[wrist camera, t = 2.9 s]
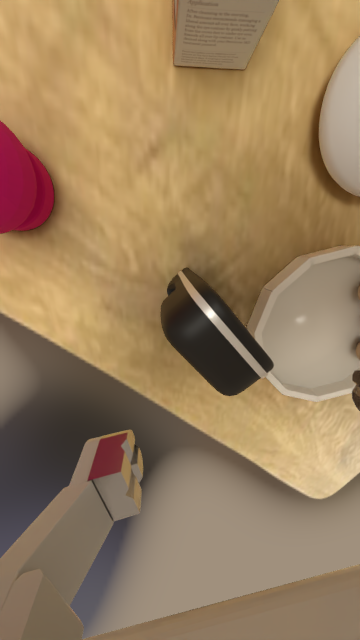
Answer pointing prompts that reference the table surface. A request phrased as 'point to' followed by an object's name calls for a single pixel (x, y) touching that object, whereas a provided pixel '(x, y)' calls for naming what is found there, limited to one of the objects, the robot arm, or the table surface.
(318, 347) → the tray
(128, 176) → the table surface
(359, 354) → the bead
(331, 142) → the flower in vase
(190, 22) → the small box
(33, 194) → the pepper mill
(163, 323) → the battery charger
